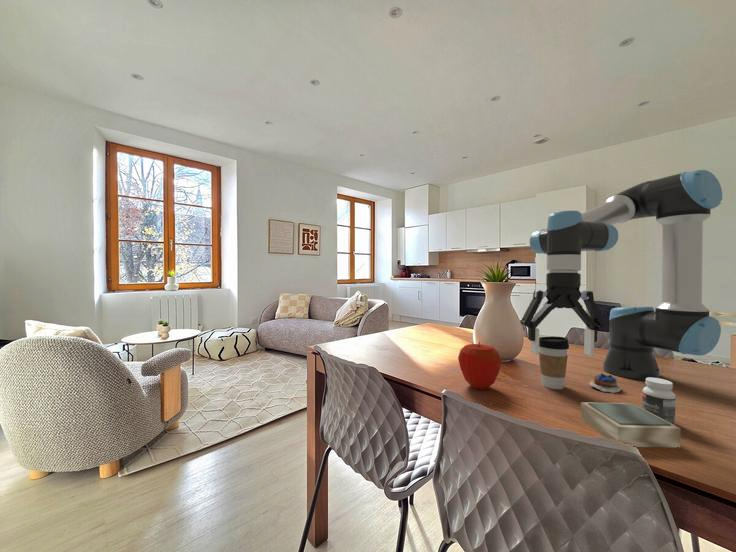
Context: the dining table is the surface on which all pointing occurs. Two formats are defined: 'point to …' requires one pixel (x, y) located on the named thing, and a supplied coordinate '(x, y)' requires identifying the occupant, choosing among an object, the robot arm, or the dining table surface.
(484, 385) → the apple
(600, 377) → the dessert
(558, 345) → the coffee cup
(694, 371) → the dining table surface
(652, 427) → the tray
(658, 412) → the pill bottle
